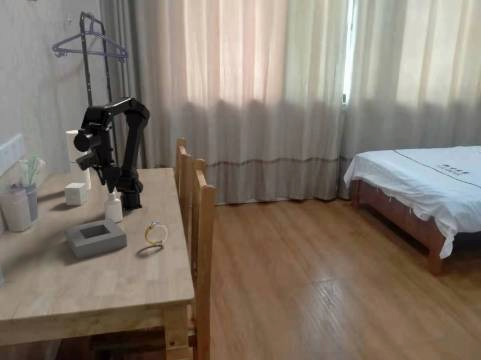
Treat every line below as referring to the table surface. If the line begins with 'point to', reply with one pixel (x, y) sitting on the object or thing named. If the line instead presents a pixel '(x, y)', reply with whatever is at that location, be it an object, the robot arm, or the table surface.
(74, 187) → the product box
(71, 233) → the holder block
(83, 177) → the cylindrical container
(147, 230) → the bracelet
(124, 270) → the table surface
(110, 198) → the eye dropper bottle
